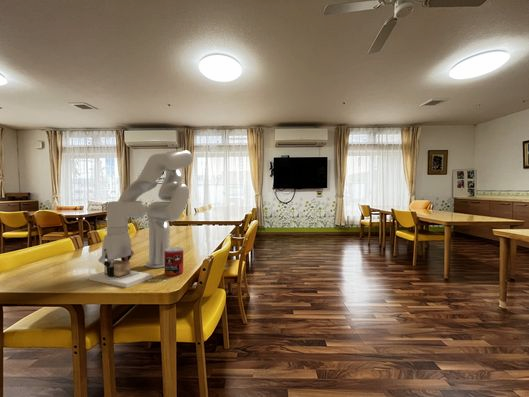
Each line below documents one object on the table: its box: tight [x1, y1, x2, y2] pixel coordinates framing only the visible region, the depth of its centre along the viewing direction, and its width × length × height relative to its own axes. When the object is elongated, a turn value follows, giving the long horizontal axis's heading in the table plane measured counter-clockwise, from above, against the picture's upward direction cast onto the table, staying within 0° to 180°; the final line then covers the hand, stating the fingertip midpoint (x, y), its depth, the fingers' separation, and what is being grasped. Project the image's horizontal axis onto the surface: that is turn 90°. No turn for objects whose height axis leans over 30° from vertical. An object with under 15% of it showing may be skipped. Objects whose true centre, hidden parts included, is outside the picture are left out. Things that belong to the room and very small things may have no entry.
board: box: [88, 270, 154, 288], centre depth 100 cm, size 12×22×2 cm, turn 67°
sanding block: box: [103, 259, 131, 278], centre depth 101 cm, size 5×9×5 cm, turn 66°
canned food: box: [164, 246, 184, 277], centre depth 107 cm, size 8×8×11 cm
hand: (117, 273), depth 101 cm, fingers closed on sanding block, 5 cm apart
